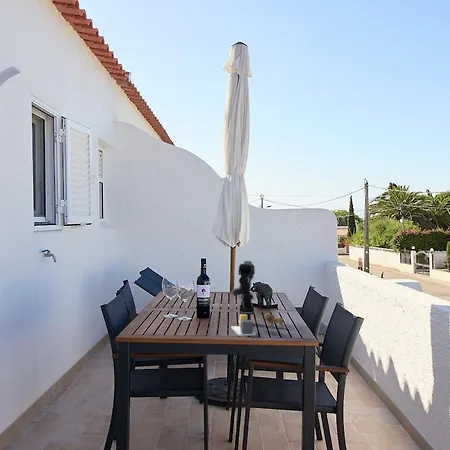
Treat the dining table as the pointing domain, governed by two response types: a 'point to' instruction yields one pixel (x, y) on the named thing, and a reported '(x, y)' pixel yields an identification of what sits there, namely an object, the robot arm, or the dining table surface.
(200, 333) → the dining table surface
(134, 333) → the dining table surface
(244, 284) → the robot arm
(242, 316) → the yellow pegged block
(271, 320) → the lion figurine
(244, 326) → the cord rail
